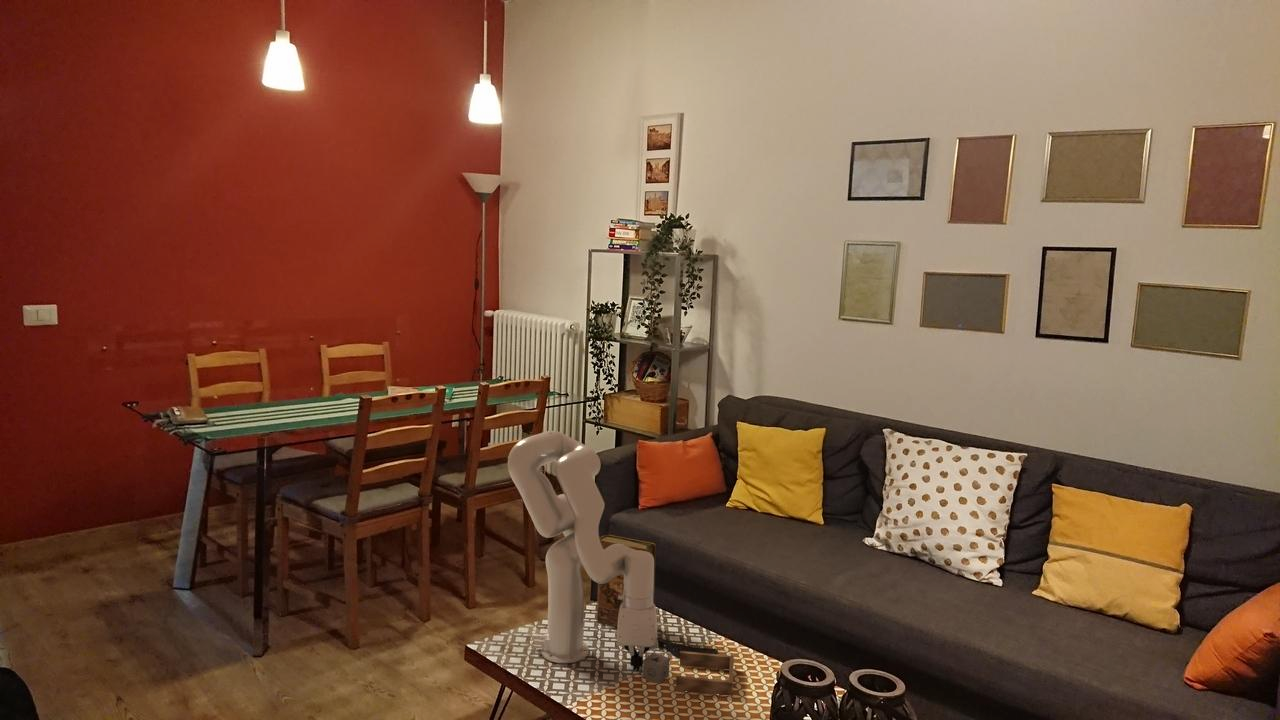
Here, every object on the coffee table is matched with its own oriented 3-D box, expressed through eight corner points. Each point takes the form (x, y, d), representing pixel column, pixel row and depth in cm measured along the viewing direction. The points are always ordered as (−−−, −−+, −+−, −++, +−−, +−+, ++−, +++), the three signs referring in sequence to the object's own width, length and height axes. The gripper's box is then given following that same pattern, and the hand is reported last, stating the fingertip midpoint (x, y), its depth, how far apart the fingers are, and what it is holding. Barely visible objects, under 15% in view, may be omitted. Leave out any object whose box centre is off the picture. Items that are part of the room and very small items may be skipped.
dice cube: (642, 679, 211) (643, 660, 210) (651, 670, 215) (652, 652, 215) (659, 684, 208) (660, 665, 208) (669, 676, 213) (669, 657, 212)
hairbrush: (641, 624, 236) (722, 642, 224) (641, 637, 236) (722, 655, 224) (626, 636, 229) (710, 655, 217) (627, 649, 229) (710, 669, 217)
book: (594, 622, 242) (596, 539, 239) (602, 615, 247) (605, 534, 244) (645, 634, 235) (648, 549, 232) (653, 626, 240) (656, 543, 237)
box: (675, 690, 206) (676, 677, 205) (679, 663, 219) (680, 651, 219) (732, 696, 204) (733, 683, 203) (733, 668, 218) (733, 655, 217)
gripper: (606, 604, 208) (605, 673, 211) (666, 608, 206) (664, 678, 209) (611, 592, 216) (610, 659, 218) (669, 596, 214) (667, 663, 216)
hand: (636, 668), depth 213 cm, fingers closed
